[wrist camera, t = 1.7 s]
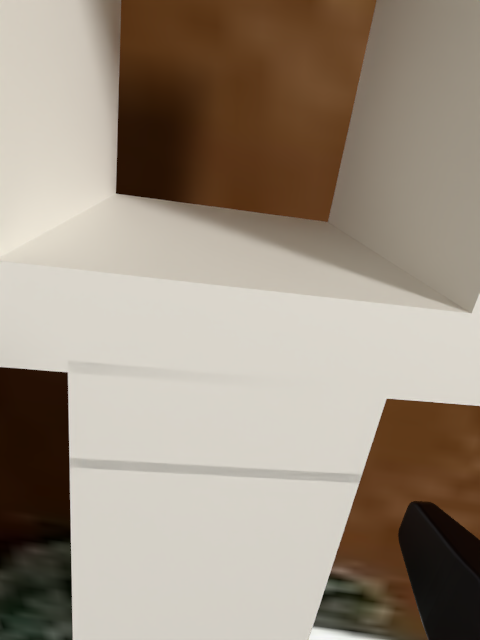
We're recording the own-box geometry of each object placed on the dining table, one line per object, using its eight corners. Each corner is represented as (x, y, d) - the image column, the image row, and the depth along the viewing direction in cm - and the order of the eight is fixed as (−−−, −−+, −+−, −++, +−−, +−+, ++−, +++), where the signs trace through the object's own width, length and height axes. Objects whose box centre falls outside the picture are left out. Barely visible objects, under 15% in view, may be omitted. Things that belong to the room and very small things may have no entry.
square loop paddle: (107, 469, 13) (-12, 863, 6) (120, -48, 8) (-485, -1418, 1) (258, 477, 14) (317, 842, 7) (356, 0, 9) (1026, -640, 2)
